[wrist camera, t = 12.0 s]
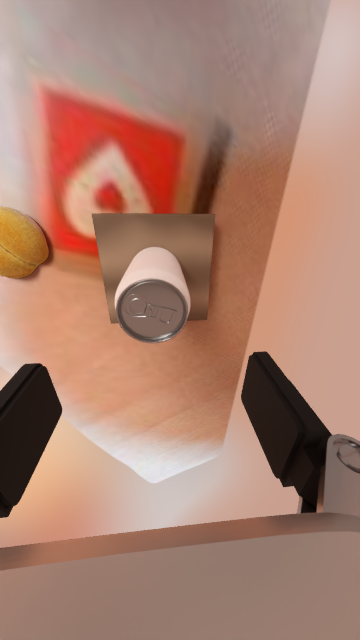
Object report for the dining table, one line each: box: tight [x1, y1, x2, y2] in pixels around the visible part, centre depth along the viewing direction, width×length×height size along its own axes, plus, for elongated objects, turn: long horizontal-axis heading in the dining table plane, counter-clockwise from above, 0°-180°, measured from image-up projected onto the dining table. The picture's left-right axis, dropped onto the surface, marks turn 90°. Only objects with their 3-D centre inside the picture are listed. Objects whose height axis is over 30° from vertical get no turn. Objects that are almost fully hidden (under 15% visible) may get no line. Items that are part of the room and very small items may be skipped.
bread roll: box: [0, 207, 49, 278], centre depth 26 cm, size 8×9×4 cm
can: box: [115, 247, 190, 343], centre depth 21 cm, size 6×6×12 cm
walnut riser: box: [92, 213, 215, 323], centre depth 29 cm, size 14×14×5 cm
